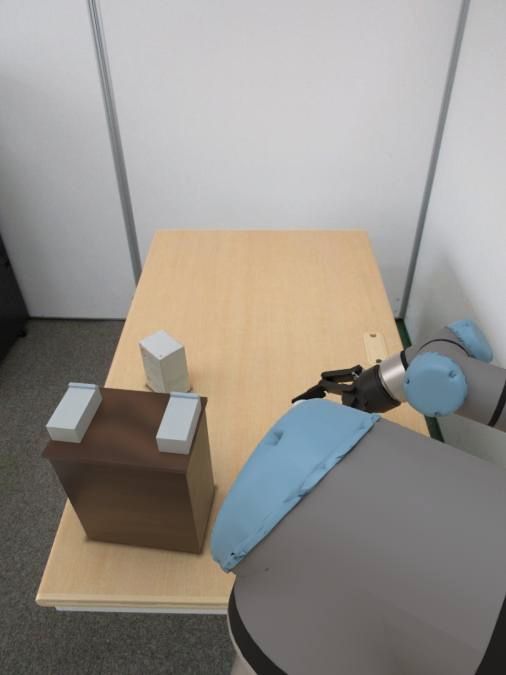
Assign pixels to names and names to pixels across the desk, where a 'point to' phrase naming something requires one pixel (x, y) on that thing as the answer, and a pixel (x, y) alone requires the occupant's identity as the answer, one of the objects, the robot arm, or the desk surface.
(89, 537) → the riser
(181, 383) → the small box
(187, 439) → the box
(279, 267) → the desk surface
